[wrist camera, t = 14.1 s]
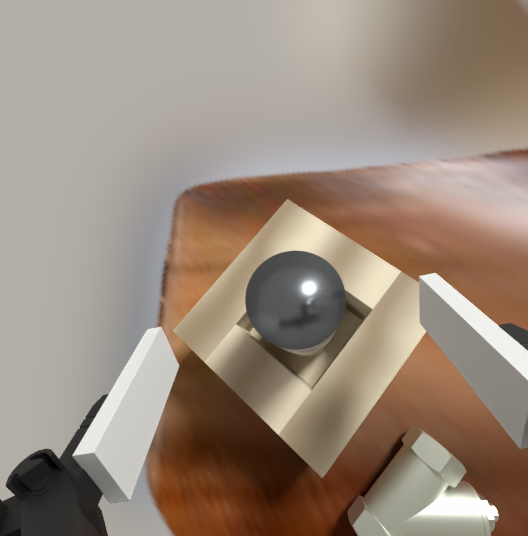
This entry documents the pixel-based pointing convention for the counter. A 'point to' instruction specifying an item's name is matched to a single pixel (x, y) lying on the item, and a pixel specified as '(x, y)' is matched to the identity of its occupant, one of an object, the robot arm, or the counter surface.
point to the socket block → (320, 365)
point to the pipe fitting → (422, 496)
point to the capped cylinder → (296, 302)
